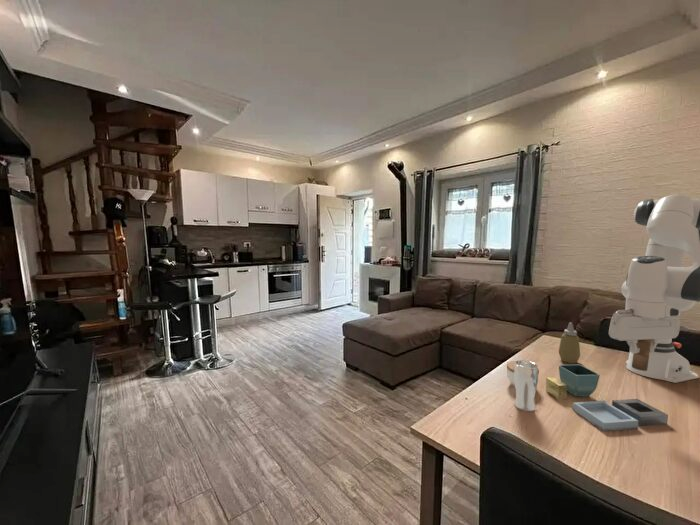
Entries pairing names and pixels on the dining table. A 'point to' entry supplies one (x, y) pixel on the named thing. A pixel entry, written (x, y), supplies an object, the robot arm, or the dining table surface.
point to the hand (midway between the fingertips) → (641, 352)
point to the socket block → (641, 412)
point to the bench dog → (556, 388)
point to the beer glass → (525, 384)
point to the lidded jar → (512, 371)
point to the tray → (605, 415)
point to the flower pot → (578, 379)
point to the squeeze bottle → (569, 345)
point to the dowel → (642, 355)
